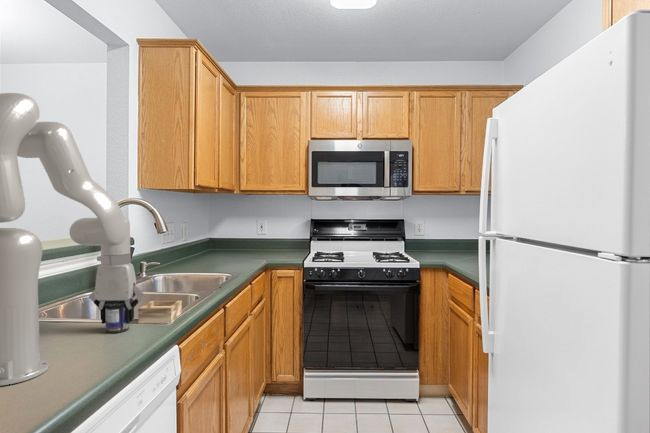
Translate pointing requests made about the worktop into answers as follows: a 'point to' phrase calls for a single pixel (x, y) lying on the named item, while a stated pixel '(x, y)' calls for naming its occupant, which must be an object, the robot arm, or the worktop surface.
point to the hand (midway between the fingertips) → (117, 321)
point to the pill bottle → (116, 317)
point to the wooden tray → (159, 311)
